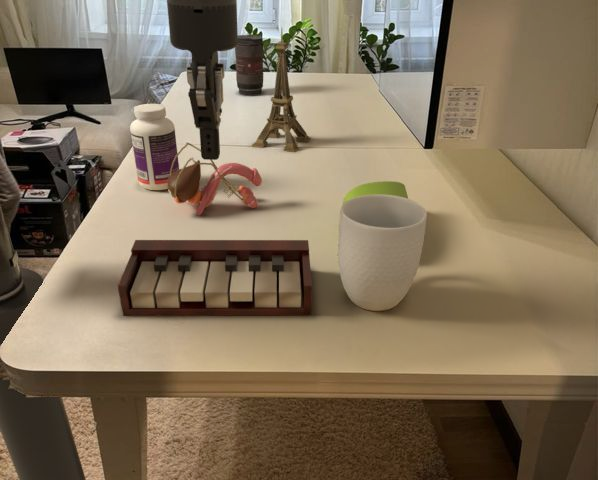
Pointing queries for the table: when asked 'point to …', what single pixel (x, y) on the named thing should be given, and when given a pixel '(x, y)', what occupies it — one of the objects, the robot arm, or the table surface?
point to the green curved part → (377, 190)
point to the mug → (379, 248)
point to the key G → (242, 283)
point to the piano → (217, 277)
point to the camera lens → (249, 64)
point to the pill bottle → (153, 146)
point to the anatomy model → (209, 183)
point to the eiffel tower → (283, 100)
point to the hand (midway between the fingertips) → (210, 157)
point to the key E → (195, 282)
